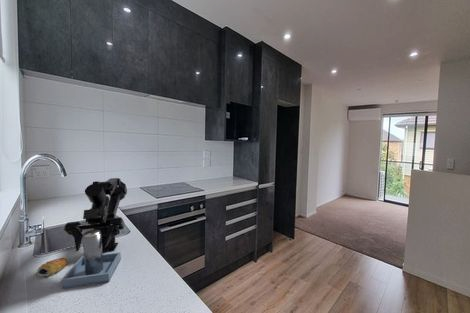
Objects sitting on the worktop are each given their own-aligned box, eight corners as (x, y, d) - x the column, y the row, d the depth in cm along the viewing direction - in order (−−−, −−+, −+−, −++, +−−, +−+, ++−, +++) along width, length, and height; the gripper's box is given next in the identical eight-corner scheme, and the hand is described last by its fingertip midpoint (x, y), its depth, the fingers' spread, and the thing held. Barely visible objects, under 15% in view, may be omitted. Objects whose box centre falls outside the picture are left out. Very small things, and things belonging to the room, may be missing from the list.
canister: (83, 270, 78) (81, 232, 77) (101, 263, 82) (99, 227, 80) (86, 277, 74) (83, 238, 73) (104, 270, 78) (102, 233, 76)
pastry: (58, 261, 85) (57, 252, 85) (73, 262, 85) (73, 253, 84) (34, 277, 76) (33, 267, 76) (51, 278, 75) (50, 268, 75)
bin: (81, 264, 83) (81, 256, 83) (120, 259, 87) (120, 252, 86) (61, 288, 70) (61, 280, 69) (109, 281, 73) (108, 273, 73)
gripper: (64, 201, 77) (49, 245, 67) (121, 197, 82) (115, 237, 73) (75, 214, 85) (63, 255, 76) (126, 210, 90) (122, 247, 81)
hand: (91, 249), depth 76 cm, fingers open, 8 cm apart
